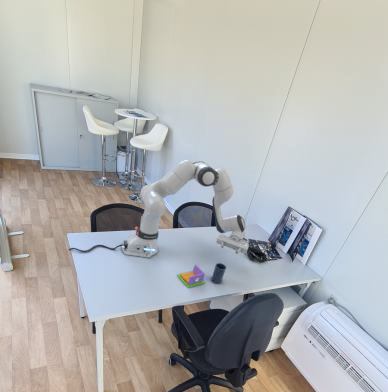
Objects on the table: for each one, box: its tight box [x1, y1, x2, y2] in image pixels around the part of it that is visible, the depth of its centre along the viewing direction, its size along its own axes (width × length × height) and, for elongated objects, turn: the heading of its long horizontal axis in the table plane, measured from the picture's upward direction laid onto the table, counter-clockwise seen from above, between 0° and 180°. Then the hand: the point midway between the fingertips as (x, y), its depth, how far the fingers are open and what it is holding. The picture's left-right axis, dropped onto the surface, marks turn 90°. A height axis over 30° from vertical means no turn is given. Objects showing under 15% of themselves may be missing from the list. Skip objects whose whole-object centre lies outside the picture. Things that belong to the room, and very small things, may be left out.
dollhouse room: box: [177, 264, 205, 288], centre depth 168 cm, size 12×12×7 cm
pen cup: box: [210, 262, 227, 284], centre depth 172 cm, size 6×6×10 cm
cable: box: [246, 246, 268, 263], centre depth 207 cm, size 17×14×4 cm
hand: (229, 249), depth 175 cm, fingers open, 8 cm apart
